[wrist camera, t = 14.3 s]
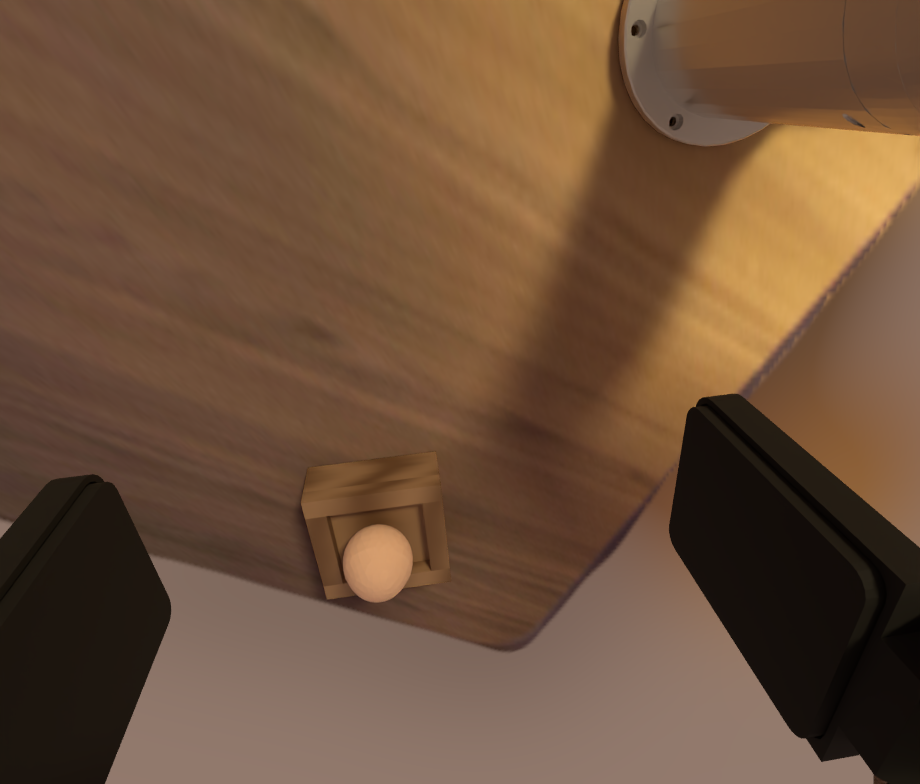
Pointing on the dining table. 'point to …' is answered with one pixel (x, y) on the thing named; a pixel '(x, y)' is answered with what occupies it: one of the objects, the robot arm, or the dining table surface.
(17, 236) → the dining table surface
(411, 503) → the base
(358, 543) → the egg
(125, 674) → the robot arm
